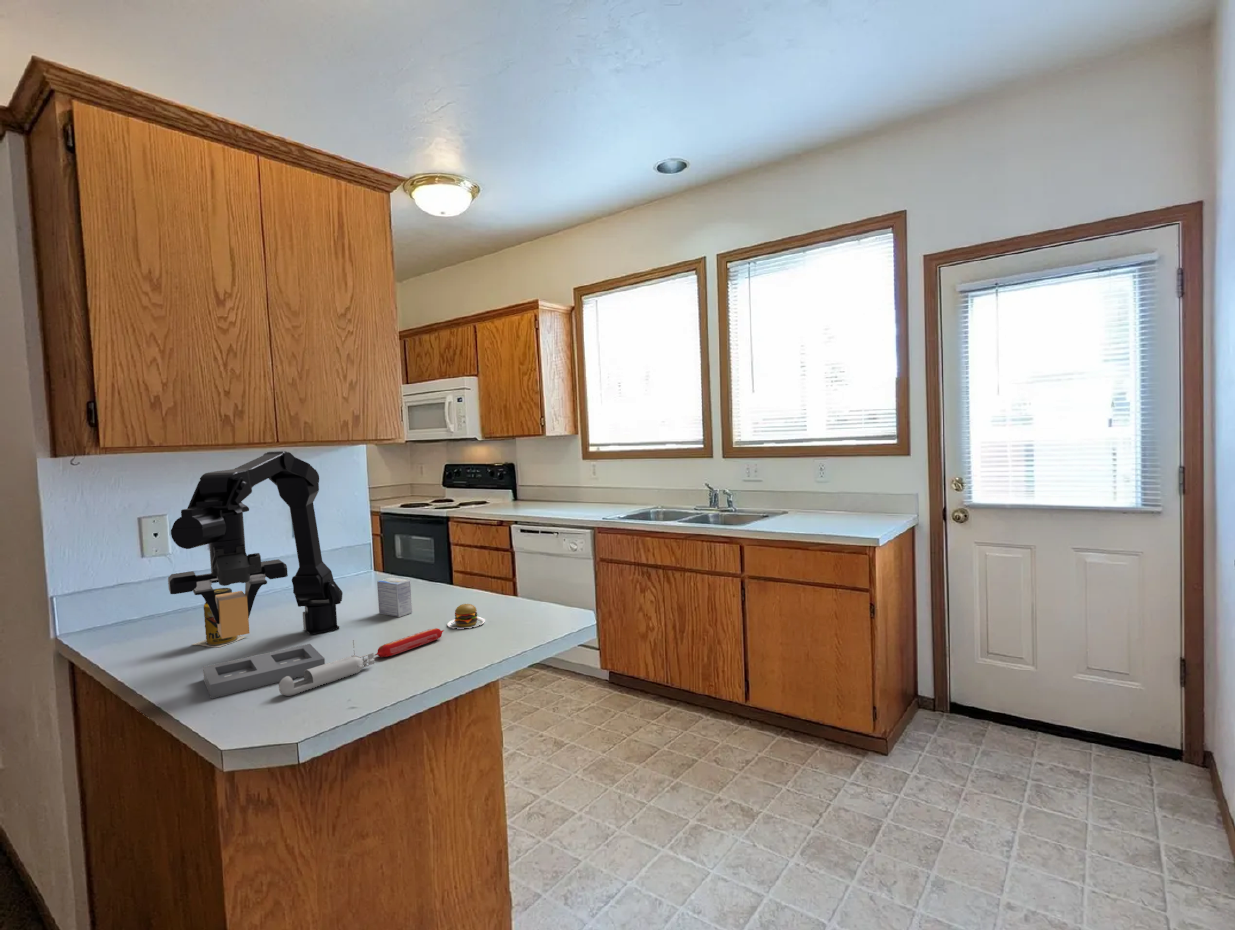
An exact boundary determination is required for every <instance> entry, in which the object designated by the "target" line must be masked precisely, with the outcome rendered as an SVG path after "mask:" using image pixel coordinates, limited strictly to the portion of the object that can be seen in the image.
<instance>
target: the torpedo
mask: <svg viewBox="0 0 1235 930" xmlns="http://www.w3.org/2000/svg"><path fill="white" fill-rule="evenodd" d="M352 643H353V647H355V639H353V640H352ZM355 654H356V653H355V651H353V654H352V655H350V656H346V657H344V658H340V659H337V660H333V661H331V662H326V663H325V664H323V665H320V666H317V667H314V668H311V669H307V670H305V672H304V676H303V679H300V680H297V681H293V679H292V678H291V677H289V676H286V677H284V678H283V679H282V680H281V681H280V682H278V690H279V693H280V694H282V695H284V696H286V697H289V696H290V697H291V696H295V695H298V694H301V693H304V692H306V691H305V690H307V691H309V690H308V689H310V690H313V689H315V687H316V688H318V687H317V686H319V687H321V686H320V685H322V686H324V685H323V684H325V685H327V684H330V683H333V682H336V681H339V680H342V679H344V677H345V678H347V677H350V675H351V676H353V674H354V675H356V674H358V673H359V672H360V671H361V670H362V669H364V668H368V667H370V666H371V665H374V664H375V656H374V655H375V654H374V652H371V653H369V654H368V653H367V654H364V655H361V656H358V655H355ZM366 656H367V657H366ZM365 657H366V658H365ZM355 673H356V674H355ZM341 678H342V679H341ZM338 679H339V680H338ZM326 683H327V684H326ZM312 688H313V689H312ZM303 691H304V692H303ZM300 692H301V693H300Z"/></svg>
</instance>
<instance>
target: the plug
mask: <svg viewBox="0 0 1235 930" xmlns="http://www.w3.org/2000/svg"><path fill="white" fill-rule="evenodd" d="M215 597H216V604H217V609H218V613H219V624H217V625H218V632H219V634H220V636H221V638H222V639H224V638H229V637H234V636H244V635H248V634H250V622H249V621H250V620H249V618H248V604H247V596H246V595H245V592H244V591H242V590H239V591H234V592H233V591H232V593H225V594H219V595H215Z"/></svg>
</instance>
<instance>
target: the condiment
mask: <svg viewBox="0 0 1235 930" xmlns="http://www.w3.org/2000/svg"><path fill="white" fill-rule="evenodd" d="M213 590H214V594H215V595H219V594H225V593H232V592H233V589H232V588H230V587H220V588H213ZM215 600H216V597H215ZM203 617H204V629H205V639H204V640H200V641H198V642H195V643H191V646H203V647H210V648H221V647H224V646H226V645H230V644H232V643H235V642H239V641H240V640H242V639H245V638H247V637H248V636H246V635H245V636H244V635H239V636H234V637H229V638H224V639H222V638H221V636H220V634H219V632H218V625H217V623H216V621H215V619H214V617H213V614H212V612H211V610H210V608H209V606H208V604H207V602H206V601H205V603H204V605H203Z"/></svg>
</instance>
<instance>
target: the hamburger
mask: <svg viewBox="0 0 1235 930" xmlns="http://www.w3.org/2000/svg"><path fill="white" fill-rule="evenodd" d="M454 611H455V612H454V616H455V617H454V619H451V620H450V621H448V622H447V624H446V625H447V627H449V628H451V629H454V628H455V627H453V626H452V624H451V623H453V622H455V625H456V626H457V627H456V628H457V629H456V630H465V629H464V628H469V629H473V628H472V627H474V628H477V627H480V626H482V625H483V624H485V622H486V618H483V617H480V616H479V614H478V612H477V608H476V606H475V605H474V604H471V603H463V604H460V605H458V606H457V607H456V608H455V609H454ZM478 621H479V622H481V621H482V622H481V623H480V624H478V625H476V624H477V622H478ZM453 624H454V623H453ZM450 625H451V626H450ZM472 625H473V626H472ZM479 625H480V626H479Z"/></svg>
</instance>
